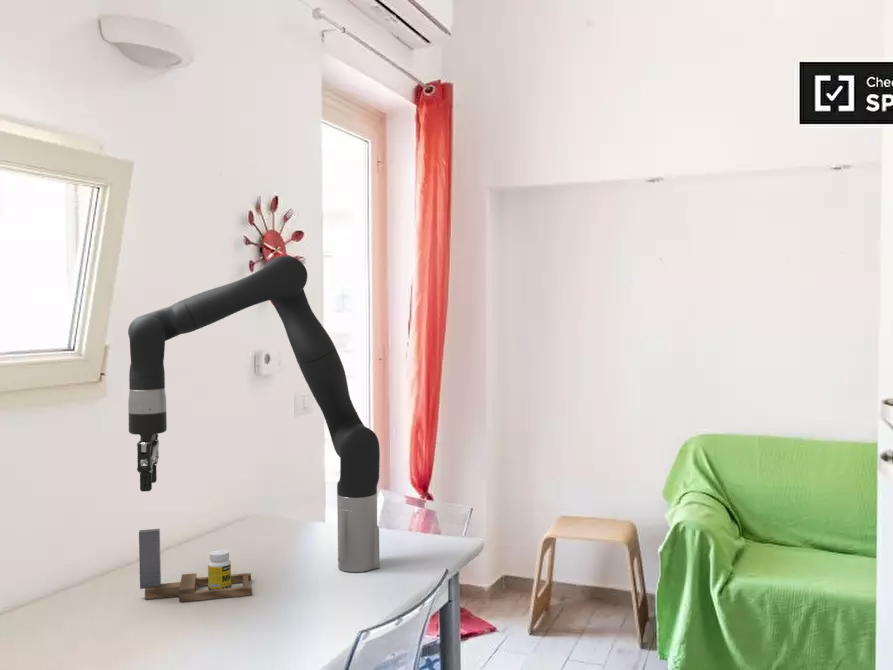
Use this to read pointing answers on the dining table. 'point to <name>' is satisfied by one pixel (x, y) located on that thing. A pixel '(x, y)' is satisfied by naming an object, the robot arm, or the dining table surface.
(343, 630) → the dining table surface
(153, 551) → the strip frame
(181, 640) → the dining table surface
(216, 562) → the supplement bottle
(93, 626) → the dining table surface
